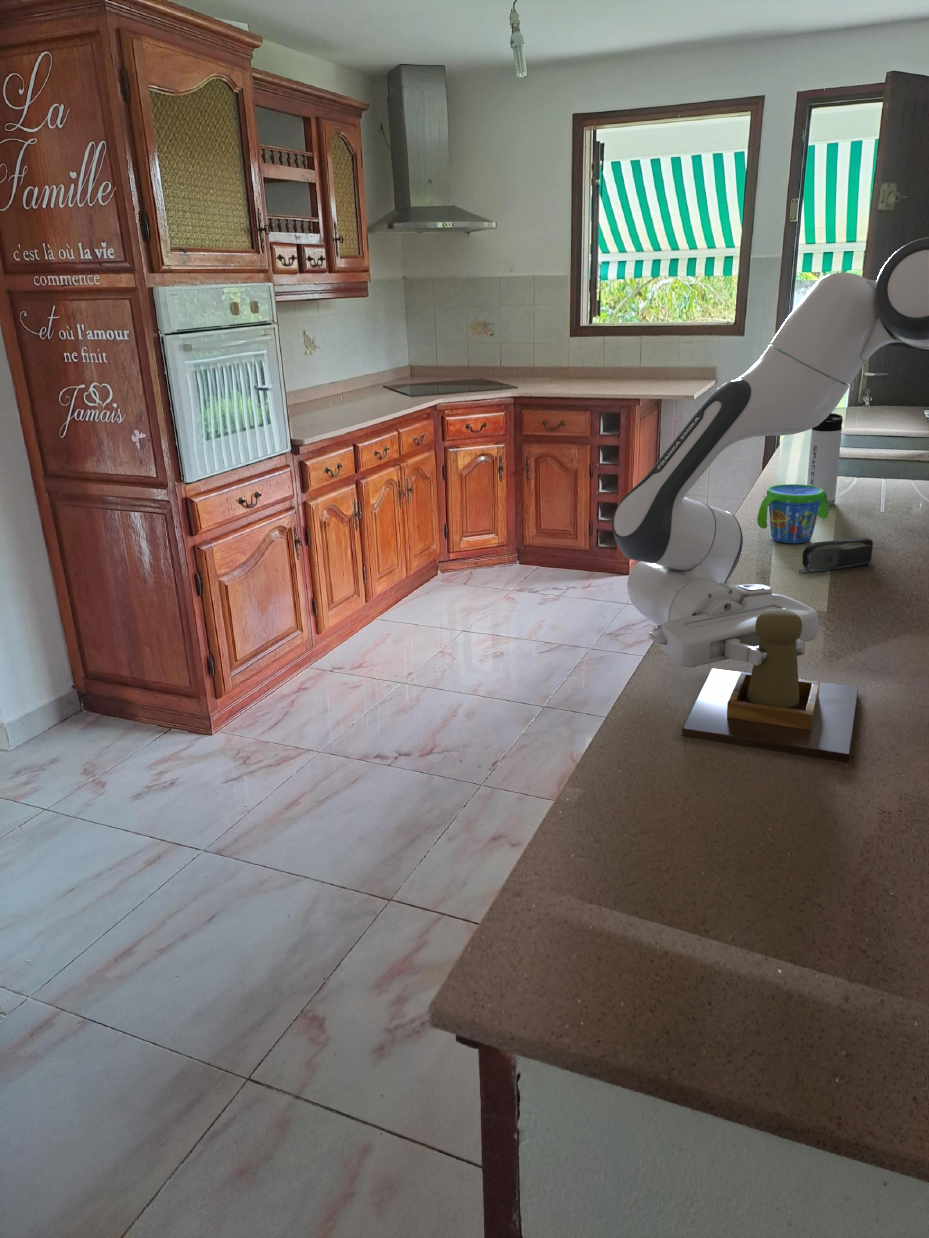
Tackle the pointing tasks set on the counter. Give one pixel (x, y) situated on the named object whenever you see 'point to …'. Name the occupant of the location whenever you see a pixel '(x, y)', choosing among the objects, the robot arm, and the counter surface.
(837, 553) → the dark grey stapler
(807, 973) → the counter surface
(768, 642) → the cork
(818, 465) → the travel mug
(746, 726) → the pad
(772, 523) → the snack cup
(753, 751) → the counter surface
